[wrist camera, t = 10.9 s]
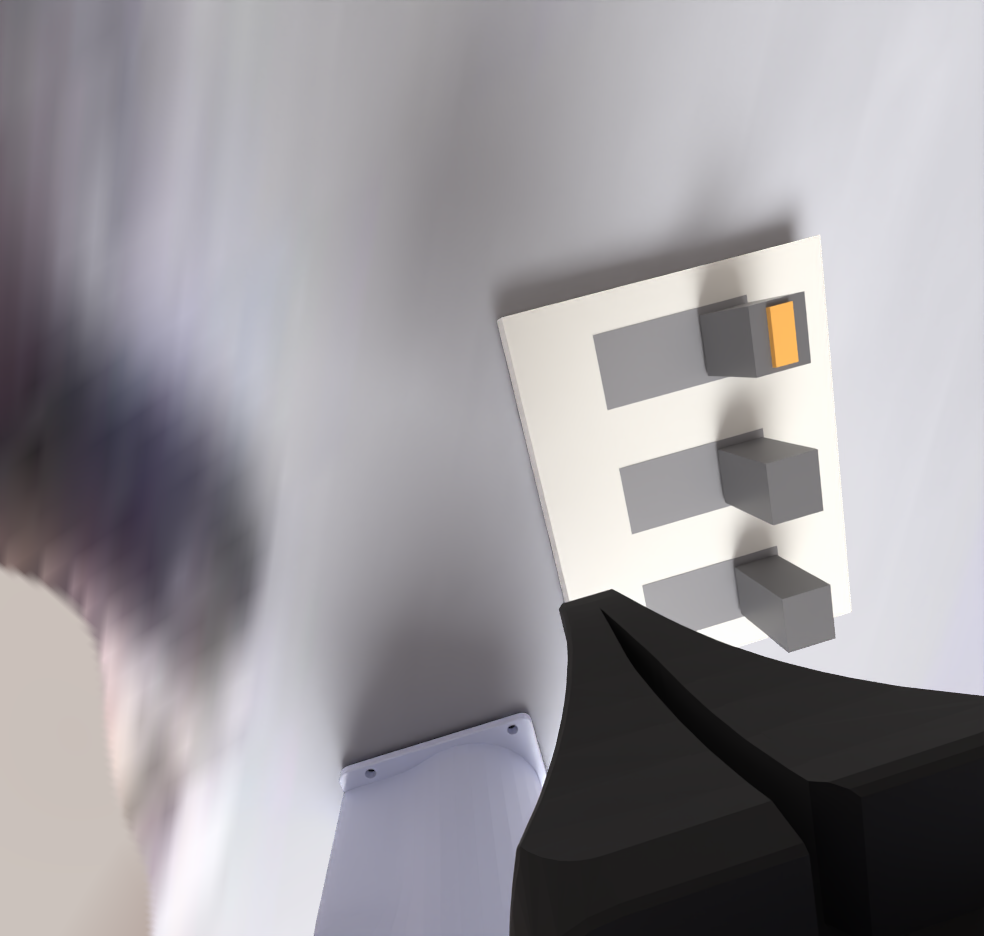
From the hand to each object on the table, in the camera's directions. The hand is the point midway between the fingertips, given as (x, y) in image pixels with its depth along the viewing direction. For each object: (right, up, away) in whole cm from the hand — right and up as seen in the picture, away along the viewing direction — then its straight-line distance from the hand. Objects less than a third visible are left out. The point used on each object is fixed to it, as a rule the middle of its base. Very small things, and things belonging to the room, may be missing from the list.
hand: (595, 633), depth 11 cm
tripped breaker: (+7, +9, +8) cm, 14 cm away
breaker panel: (+6, +4, +11) cm, 13 cm away
